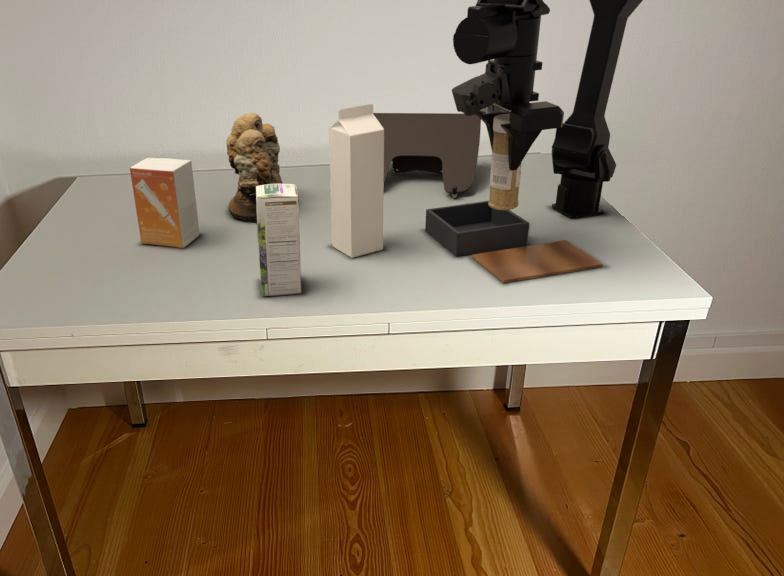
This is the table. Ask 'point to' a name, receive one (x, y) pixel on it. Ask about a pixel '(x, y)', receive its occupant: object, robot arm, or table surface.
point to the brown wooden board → (535, 261)
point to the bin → (476, 228)
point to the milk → (357, 181)
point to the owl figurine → (252, 161)
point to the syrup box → (278, 239)
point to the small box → (165, 201)
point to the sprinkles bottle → (502, 170)
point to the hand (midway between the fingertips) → (505, 165)
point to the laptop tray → (432, 146)
